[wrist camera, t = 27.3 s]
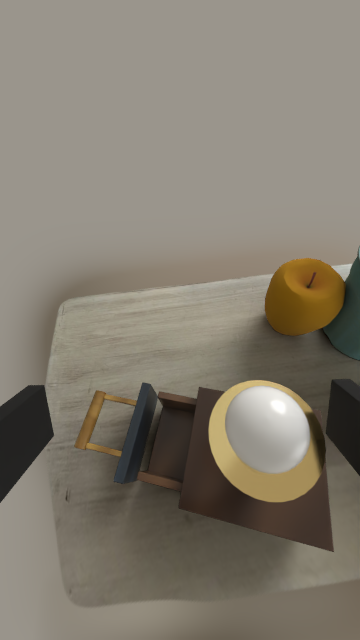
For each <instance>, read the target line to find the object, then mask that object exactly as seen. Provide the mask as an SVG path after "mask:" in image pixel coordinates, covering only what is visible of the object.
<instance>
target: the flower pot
mask: <svg viewBox="0 0 360 640" xmlns="http://www.w3.org/2000/svg"><path fill="white" fill-rule="evenodd" d="M345 283H346V287H345V297H344V303H343V306H342V308H341V310H340V311H339V313H338V314H337V316H336V317H335V318H334V319H333V320H332V321H331V322H330V323H329V324H328V325H326V326H325V327H323V330H324V333H325V334H327V336H328V337H329V339H330V341H331V344H332V345H333V346H334V347H335V348H337V349H338V350H339V351H341V352H342V353H344V354H346V355H347V356H349V357H352V358H354V359H357V360H360V246H359V249H358V256H357V258H356V260H355V261H354V263H353V265H352V267H351V270H350V274H349V276H348V277H347V279H346V280H345Z"/></svg>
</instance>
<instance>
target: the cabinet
mask: <svg viewBox="0 0 360 640" xmlns="http://www.w3.org/2000/svg"><path fill="white" fill-rule="evenodd" d="M224 393H225V392H223V391H218V390H213V389H207V388H202V387H199V391H198V396H197V402H196V408H195V414H194V420H193V426H192V432H191V438H190V443H189V449H188V455H187V461H186V467H185V473H184V479H183V485H182V490H181V496H180V502H179V508H180V509H183V510H187V511H190V512H194V513H197V514H201V515H204V516H208V517H211V518H215V519H219V520H222V521H226V522H229V523H233V524H236V525H240V526H243V527H247V528H250V529H254V530H257V531H261V532H265V533H268V534H272V535H275V536H279V537H282V538H286V539H289V540H293V541H296V542H300V543H303V544H307V545H311V546H314V547H318V548H321V549H325V550H328V551H332V552H334V548H333V537H332V527H331V516H330V505H329V494H328V483H327V472H326V461H325V463H324V466H323V469H322V472H321V475H320V477H319V478H318V480H317V482H316V483H315V485H314V486H313V487H312V488H311V489H310V490H309V491H307V492H306V493H305V494H304V495H302V496H300V497H298V498H296V499H294V500H290V501H285V502H267V501H263V500H259V499H255V498H253V497H251V496H249V495H247V494H245V493H243V492H242V491H241V490H239V489H238V488H237V487H235V486H234V485H233V484H232V483H231V482H230V481H229V480H228V479H227V478H226V477H225V476H224V474H223V473H222V471H221V470H220V468H219V467H218V465H217V463H216V461H215V459H214V456H213V454H212V451H211V447H210V442H209V421H210V417H211V414H212V410H213V408H214V406H215V404H216V403H217V401H218V400H219V398H220V397H221V396H222V395H223V394H224ZM311 410H312V411H313V412H314V414H315V415H316V417H317V419H318V421H319V423H320V425H321V428H322V418H321V410H317V409H312V408H311ZM322 431H323V429H322Z"/></svg>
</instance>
